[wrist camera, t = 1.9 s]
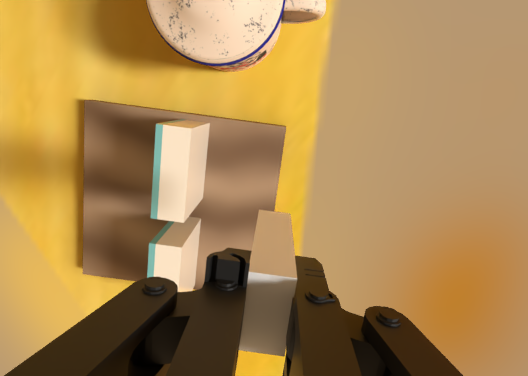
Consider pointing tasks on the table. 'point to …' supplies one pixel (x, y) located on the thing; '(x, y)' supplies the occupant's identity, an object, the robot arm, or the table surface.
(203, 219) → the walnut board
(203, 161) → the tile
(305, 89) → the table surface
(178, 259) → the tile
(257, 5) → the teacup with lid
